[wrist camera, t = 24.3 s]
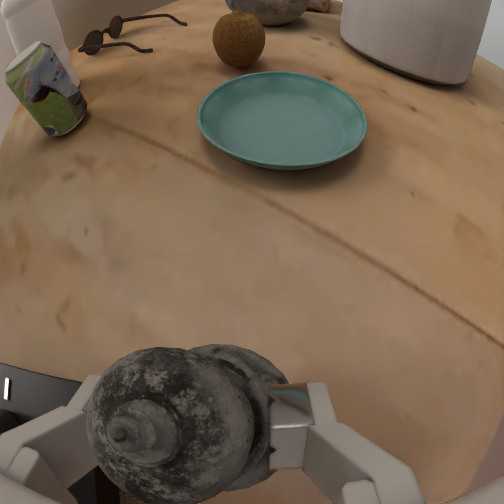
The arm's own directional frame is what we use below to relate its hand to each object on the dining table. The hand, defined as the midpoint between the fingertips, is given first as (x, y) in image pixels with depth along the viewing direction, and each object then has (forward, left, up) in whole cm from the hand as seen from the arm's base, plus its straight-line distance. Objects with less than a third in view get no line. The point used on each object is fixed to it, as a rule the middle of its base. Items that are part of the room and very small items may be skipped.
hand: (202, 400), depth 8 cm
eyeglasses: (-19, +53, -9) cm, 57 cm away
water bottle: (-27, +37, -9) cm, 47 cm away
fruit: (0, +36, -9) cm, 38 cm away
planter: (+26, +45, -9) cm, 53 cm away
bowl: (+4, +56, -9) cm, 57 cm away
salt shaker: (0, -1, -7) cm, 7 cm away
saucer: (+4, +22, -9) cm, 25 cm away
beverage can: (-21, +27, -9) cm, 36 cm away
